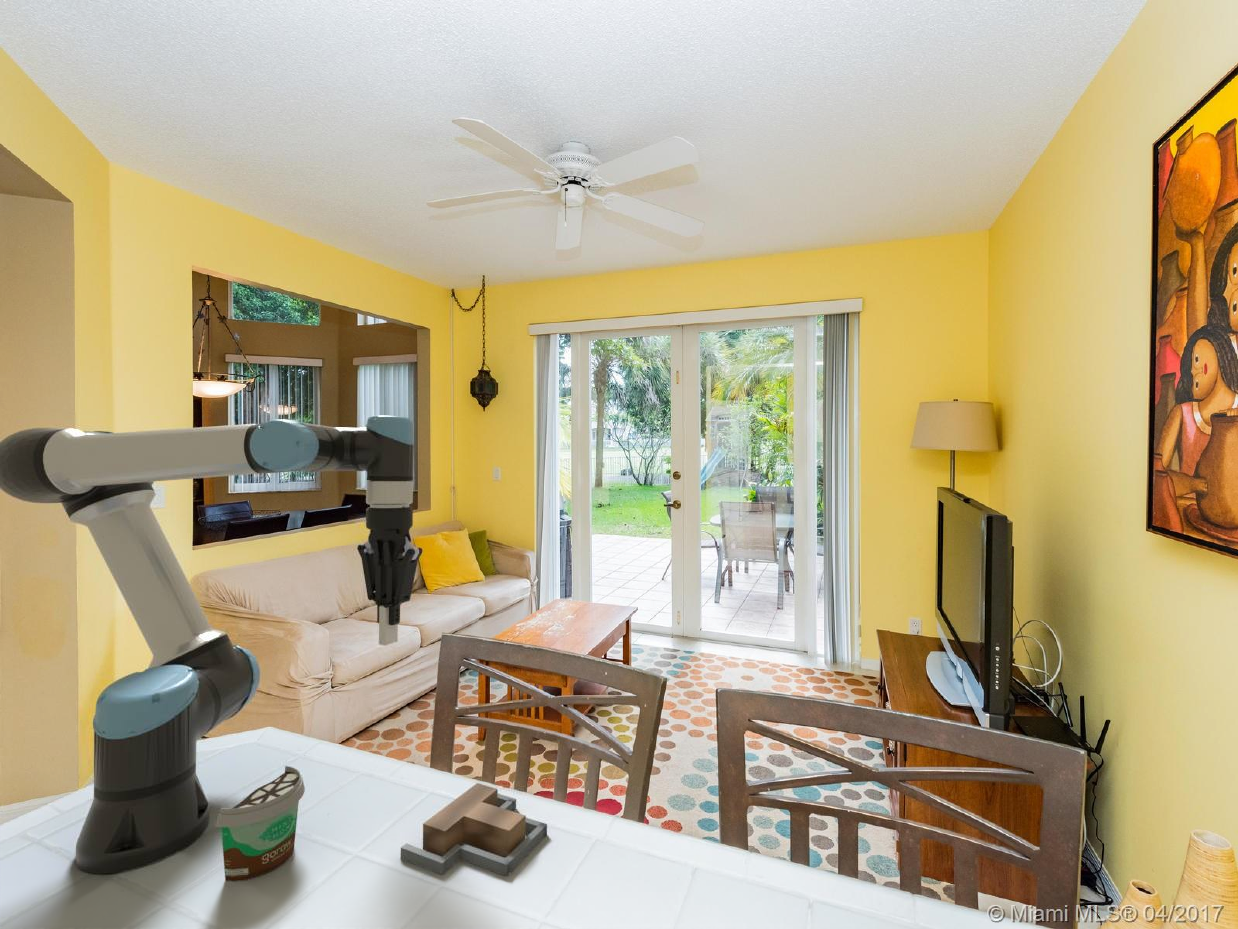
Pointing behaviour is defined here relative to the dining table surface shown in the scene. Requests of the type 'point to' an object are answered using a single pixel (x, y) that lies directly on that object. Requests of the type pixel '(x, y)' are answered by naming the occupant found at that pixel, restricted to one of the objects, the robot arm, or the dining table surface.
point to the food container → (261, 828)
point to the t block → (475, 824)
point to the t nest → (476, 855)
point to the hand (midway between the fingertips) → (388, 642)
